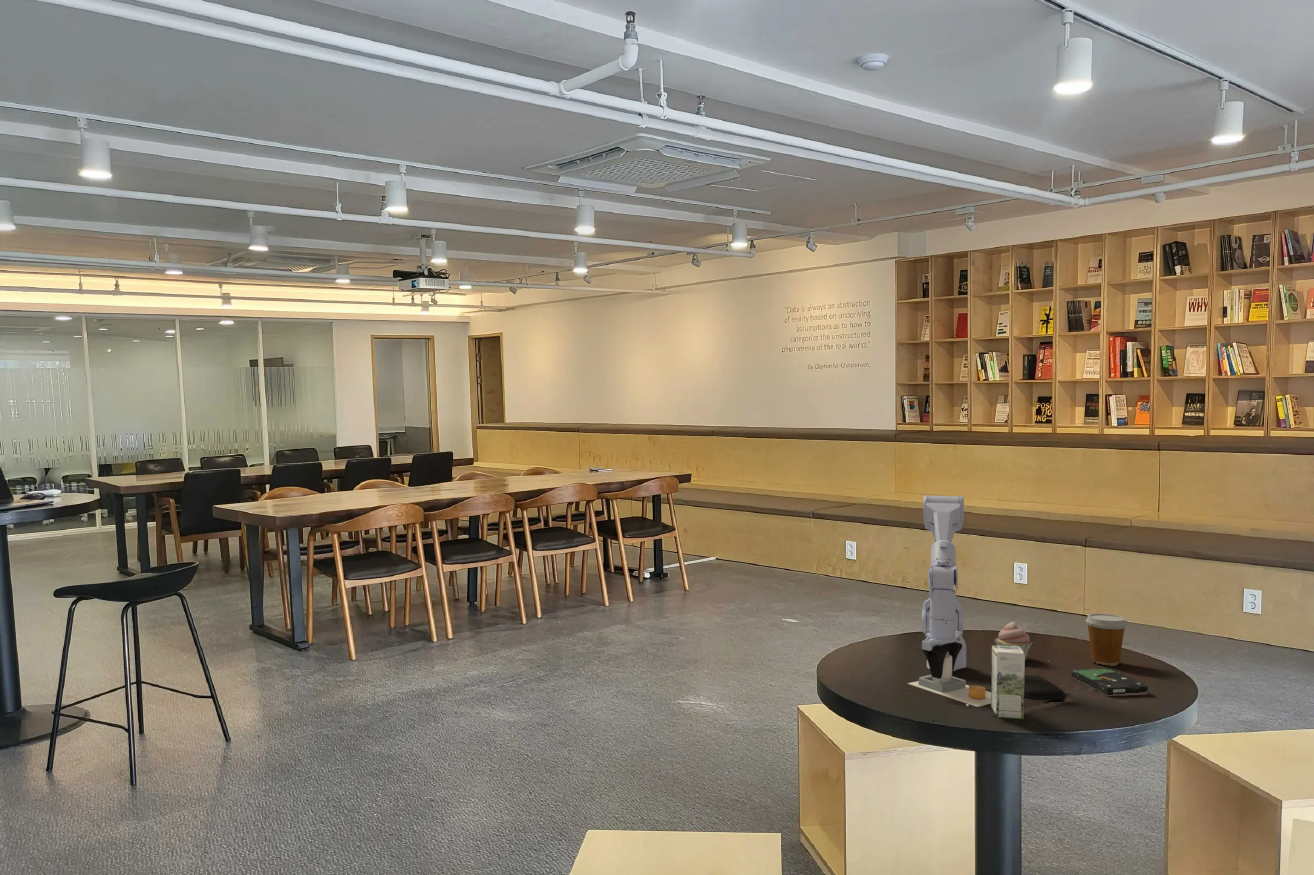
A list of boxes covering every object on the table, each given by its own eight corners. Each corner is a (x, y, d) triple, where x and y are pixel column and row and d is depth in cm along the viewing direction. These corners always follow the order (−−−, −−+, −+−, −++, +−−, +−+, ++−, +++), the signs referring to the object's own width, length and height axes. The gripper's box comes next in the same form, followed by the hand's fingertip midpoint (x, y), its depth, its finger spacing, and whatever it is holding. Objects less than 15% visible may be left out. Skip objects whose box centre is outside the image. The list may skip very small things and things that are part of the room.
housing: (939, 680, 223) (939, 670, 223) (1009, 702, 206) (1010, 691, 206) (907, 687, 217) (907, 677, 217) (977, 711, 200) (977, 699, 200)
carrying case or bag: (996, 685, 220) (1022, 705, 205) (996, 673, 220) (1022, 692, 205) (1040, 685, 220) (1069, 705, 205) (1041, 672, 220) (1069, 691, 205)
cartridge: (941, 681, 218) (941, 648, 218) (955, 686, 214) (956, 652, 214) (928, 684, 216) (928, 650, 216) (942, 689, 212) (943, 655, 212)
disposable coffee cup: (1089, 656, 245) (1089, 611, 244) (1128, 662, 239) (1129, 616, 239) (1081, 664, 237) (1082, 618, 236) (1122, 670, 231) (1123, 623, 231)
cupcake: (1034, 665, 236) (1034, 626, 236) (995, 662, 239) (996, 624, 238) (1030, 656, 245) (1030, 618, 245) (993, 653, 248) (993, 616, 247)
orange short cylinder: (975, 693, 209) (975, 684, 209) (989, 697, 206) (989, 688, 206) (965, 695, 207) (965, 686, 207) (978, 700, 204) (978, 691, 204)
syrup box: (1018, 711, 200) (1018, 645, 199) (1024, 720, 194) (1025, 652, 194) (990, 709, 201) (991, 643, 200) (995, 718, 195) (996, 651, 195)
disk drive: (1149, 697, 211) (1109, 678, 226) (1149, 685, 211) (1109, 667, 226) (1107, 699, 210) (1069, 679, 225) (1107, 687, 210) (1070, 668, 225)
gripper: (943, 610, 222) (942, 666, 223) (910, 619, 213) (910, 677, 213) (970, 615, 217) (969, 672, 218) (938, 624, 207) (937, 684, 208)
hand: (942, 675), depth 215 cm, fingers closed on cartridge, 4 cm apart
